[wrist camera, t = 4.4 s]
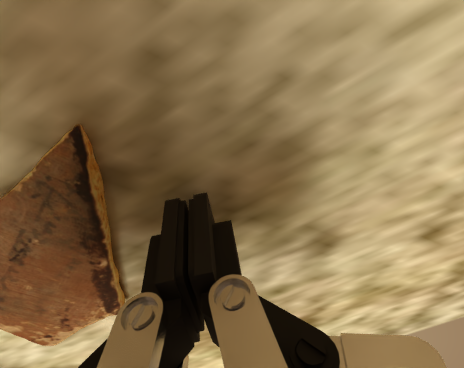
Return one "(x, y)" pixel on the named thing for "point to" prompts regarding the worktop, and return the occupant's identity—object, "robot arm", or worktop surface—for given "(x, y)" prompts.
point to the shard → (57, 247)
